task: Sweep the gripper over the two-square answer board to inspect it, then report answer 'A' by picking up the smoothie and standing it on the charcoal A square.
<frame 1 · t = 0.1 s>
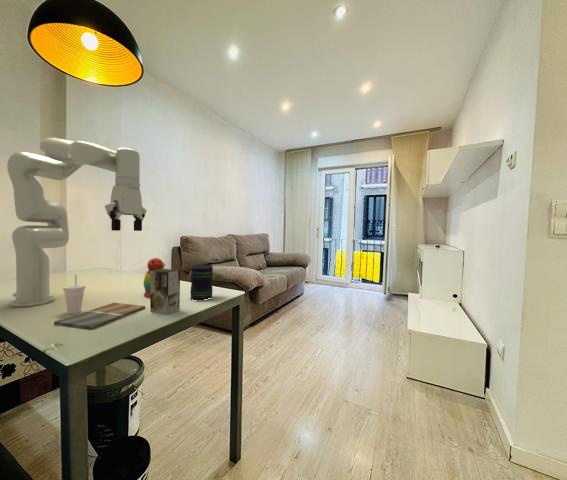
hand: (127, 230, 91), 31 cm above the table, fingers open, 9 cm apart
answer board: (104, 315, 89), on the table
storage jar: (201, 298, 115), on the table
stacking bear: (155, 295, 118), on the table
smoothie: (74, 312, 92), on the table
coffee box: (165, 311, 97), on the table
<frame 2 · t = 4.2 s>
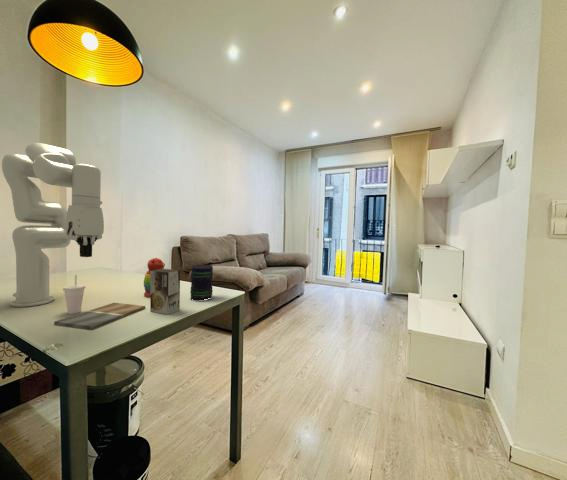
hand: (85, 256, 84), 22 cm above the table, fingers closed
nothing on the table moved.
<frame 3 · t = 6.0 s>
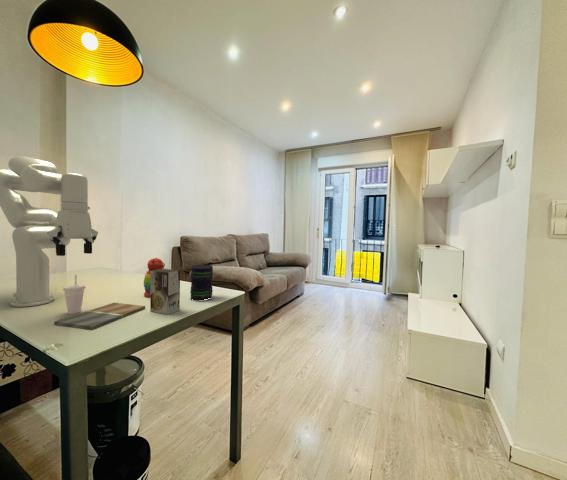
hand: (75, 254, 91), 22 cm above the table, fingers open, 9 cm apart
nothing on the table moved.
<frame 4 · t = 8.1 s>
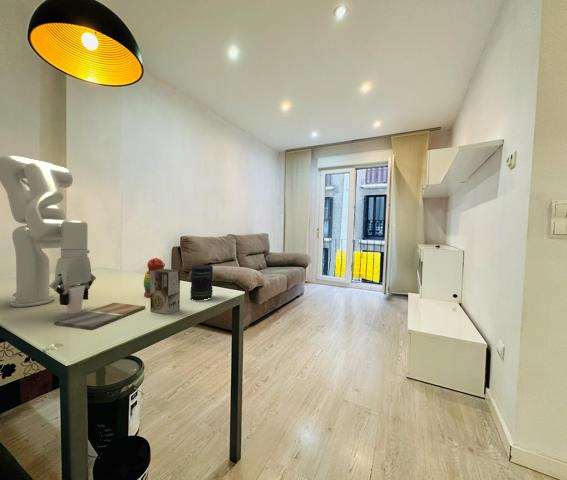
hand: (74, 301, 92), 4 cm above the table, fingers closed on smoothie, 6 cm apart
smoothie: (74, 312, 92), on the table, touching gripper
everything else where it was.
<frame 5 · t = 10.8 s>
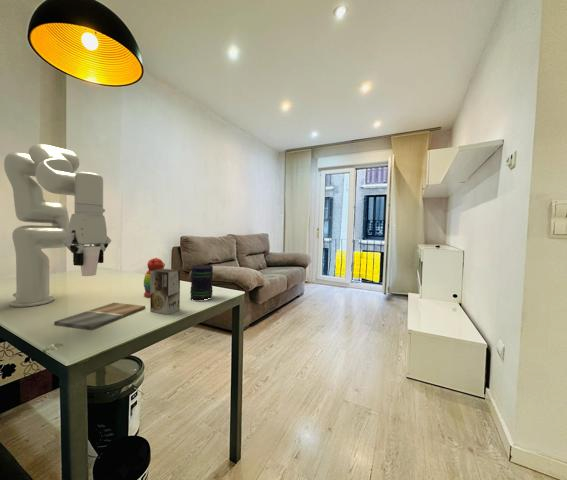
hand: (89, 263, 83), 20 cm above the table, fingers closed on smoothie, 6 cm apart
smoothie: (89, 275, 83), point 16 cm above the table, touching gripper
everything else where it was.
when the fingers open (6 cm above the table, at t = 13.8 s): smoothie drops 1 cm, resting on answer board.
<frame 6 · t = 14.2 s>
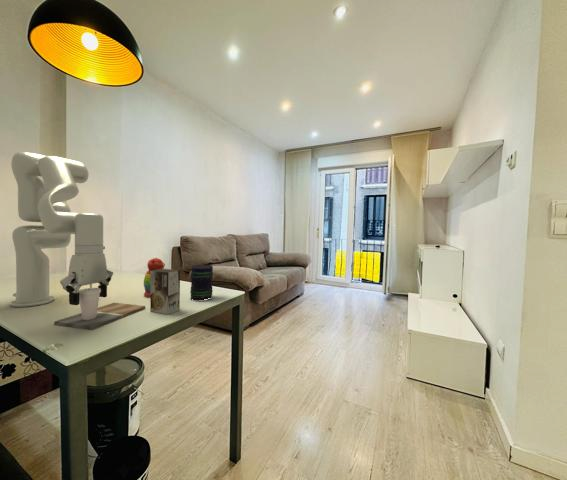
hand: (89, 300, 83), 7 cm above the table, fingers open, 9 cm apart
smoothie: (89, 318, 84), point 1 cm above the table, touching answer board
everything else where it was.
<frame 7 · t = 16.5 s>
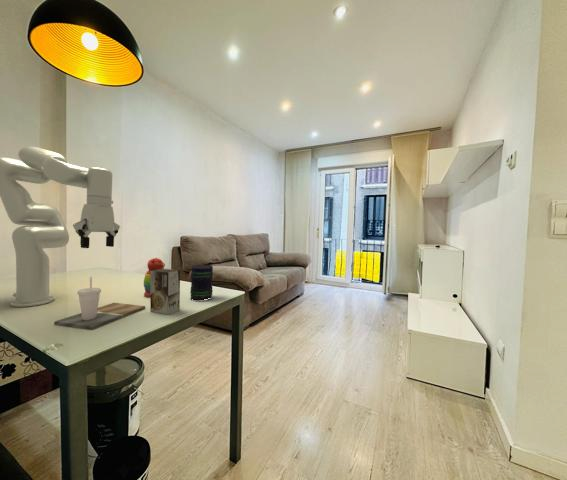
hand: (98, 247, 93), 24 cm above the table, fingers open, 9 cm apart
nothing on the table moved.
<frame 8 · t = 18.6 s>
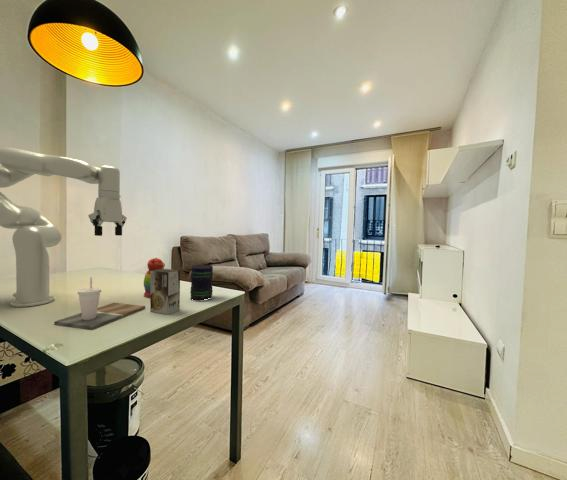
hand: (108, 235, 107), 28 cm above the table, fingers open, 9 cm apart
nothing on the table moved.
at the end: smoothie inside the target area on the answer board (0.4 cm from its centre), point 0.8 cm above the answer board's base; smoothie tilted 0°; the gripper is holding nothing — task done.
